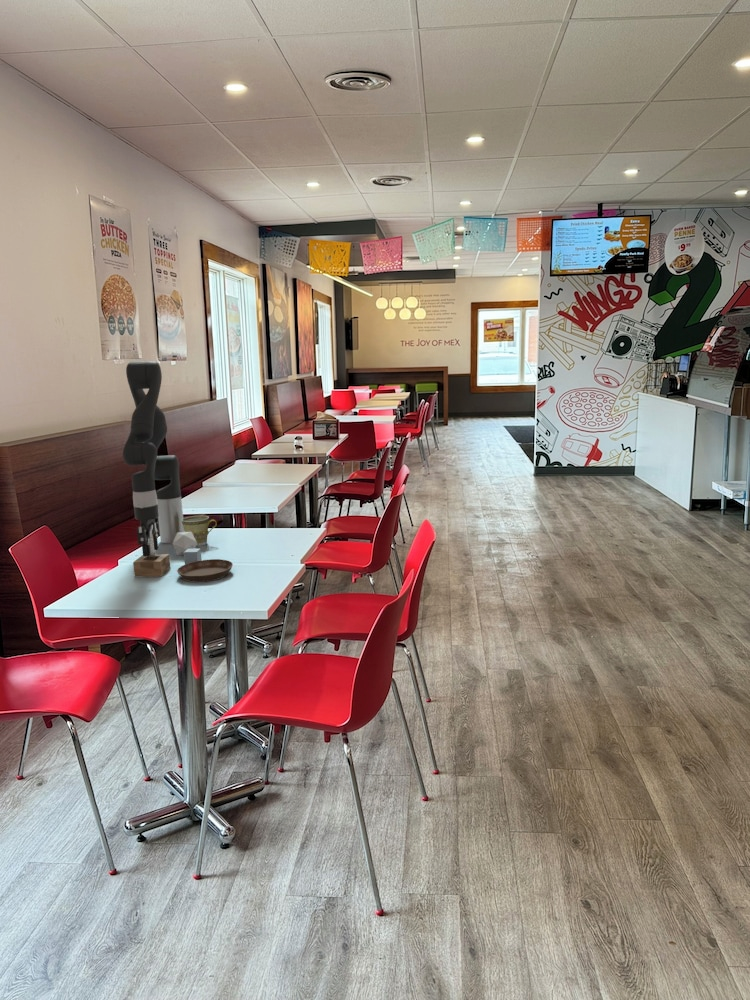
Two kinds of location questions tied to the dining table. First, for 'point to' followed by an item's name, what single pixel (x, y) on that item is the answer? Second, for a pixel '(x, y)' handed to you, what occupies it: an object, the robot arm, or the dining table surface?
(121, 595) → the dining table surface
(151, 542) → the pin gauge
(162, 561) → the bore block
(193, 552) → the slate block
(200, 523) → the ceramic cup
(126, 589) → the dining table surface
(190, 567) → the plant saucer
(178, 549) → the die
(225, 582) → the dining table surface
